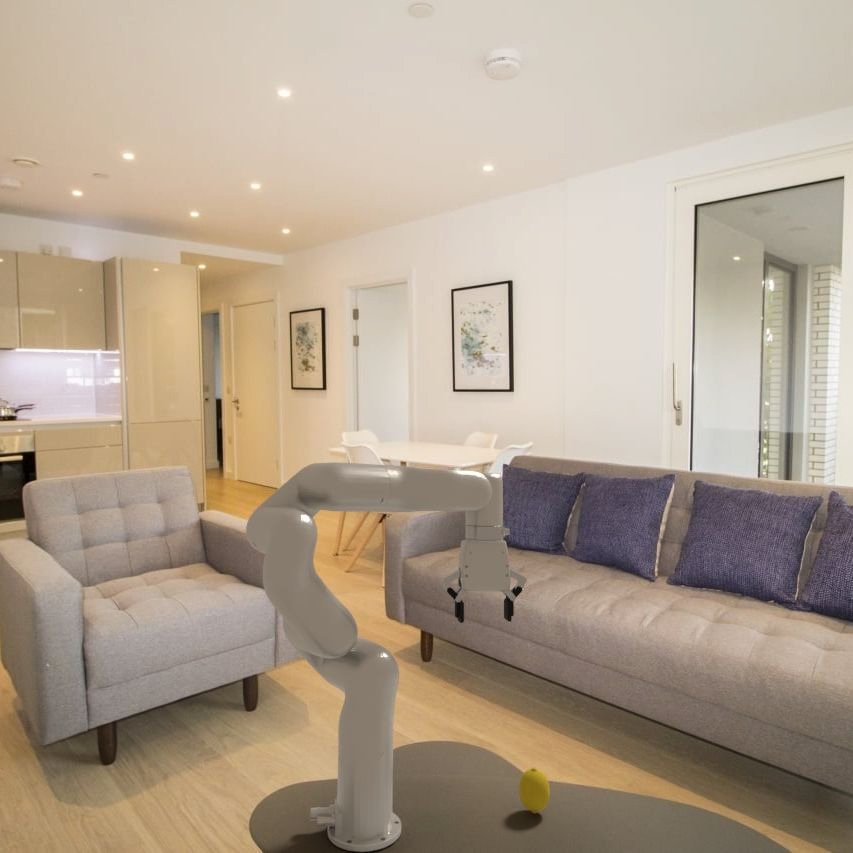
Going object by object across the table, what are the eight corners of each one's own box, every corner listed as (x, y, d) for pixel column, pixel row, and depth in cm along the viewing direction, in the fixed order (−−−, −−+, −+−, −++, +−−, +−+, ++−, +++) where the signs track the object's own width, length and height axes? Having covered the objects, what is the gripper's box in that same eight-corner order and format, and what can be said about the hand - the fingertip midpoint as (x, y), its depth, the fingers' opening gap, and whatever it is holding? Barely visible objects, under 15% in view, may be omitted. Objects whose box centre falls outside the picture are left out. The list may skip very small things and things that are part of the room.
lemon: (518, 819, 114) (518, 773, 114) (520, 804, 119) (519, 759, 120) (550, 823, 113) (549, 776, 113) (550, 807, 118) (549, 762, 119)
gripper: (520, 532, 134) (520, 615, 132) (438, 532, 131) (438, 617, 130) (531, 535, 126) (531, 623, 125) (445, 536, 124) (444, 626, 123)
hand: (484, 620), depth 128 cm, fingers open, 9 cm apart
